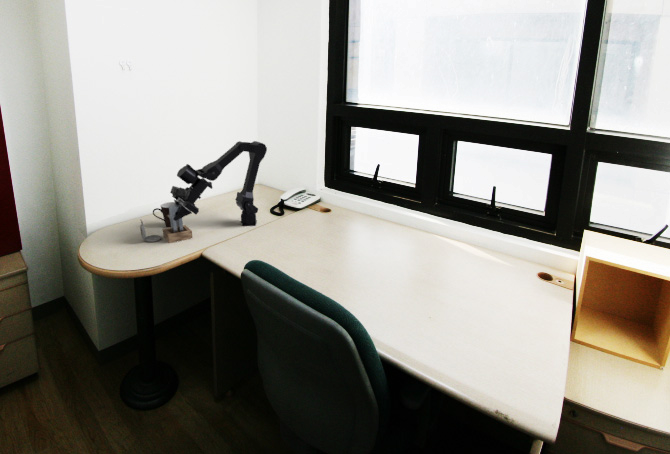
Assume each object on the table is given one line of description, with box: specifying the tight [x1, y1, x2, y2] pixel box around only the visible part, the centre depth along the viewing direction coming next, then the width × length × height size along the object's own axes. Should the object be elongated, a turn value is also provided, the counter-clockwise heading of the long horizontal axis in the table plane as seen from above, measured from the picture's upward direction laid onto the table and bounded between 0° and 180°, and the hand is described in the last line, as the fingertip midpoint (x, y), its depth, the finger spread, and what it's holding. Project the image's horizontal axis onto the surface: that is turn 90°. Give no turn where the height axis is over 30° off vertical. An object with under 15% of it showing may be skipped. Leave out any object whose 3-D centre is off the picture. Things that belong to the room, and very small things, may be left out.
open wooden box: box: [162, 224, 194, 244], centre depth 195 cm, size 10×9×4 cm
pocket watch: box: [139, 218, 162, 243], centre depth 191 cm, size 8×8×10 cm
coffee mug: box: [152, 201, 177, 228], centre depth 209 cm, size 12×9×10 cm
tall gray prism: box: [169, 204, 184, 233], centre depth 193 cm, size 4×4×12 cm
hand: (172, 218), depth 192 cm, fingers closed on tall gray prism, 4 cm apart
